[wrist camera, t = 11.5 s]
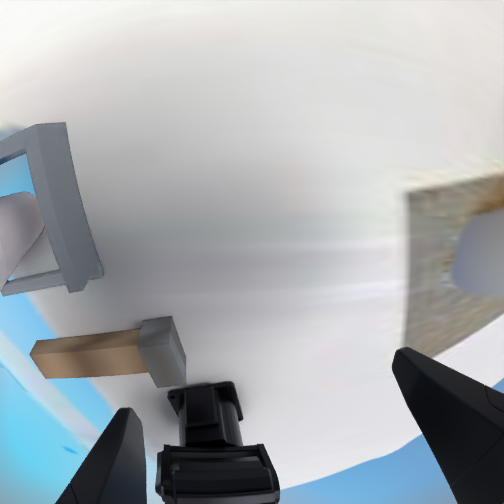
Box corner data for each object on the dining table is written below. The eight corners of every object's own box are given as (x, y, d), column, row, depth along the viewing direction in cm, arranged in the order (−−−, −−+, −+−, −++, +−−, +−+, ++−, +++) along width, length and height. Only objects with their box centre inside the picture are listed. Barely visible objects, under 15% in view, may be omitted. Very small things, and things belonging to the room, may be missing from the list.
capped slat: (171, 316, 22) (169, 343, 19) (185, 356, 24) (186, 384, 21) (33, 334, 20) (20, 357, 18) (54, 369, 22) (45, 392, 20)
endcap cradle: (104, 273, 20) (88, 304, 16) (6, 292, 18) (-16, 319, 15) (65, 122, 15) (36, 124, 11) (-34, 169, 14) (-65, 181, 10)
